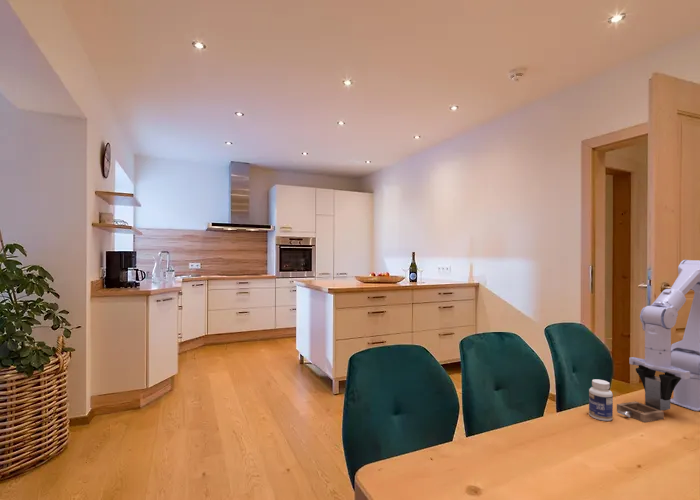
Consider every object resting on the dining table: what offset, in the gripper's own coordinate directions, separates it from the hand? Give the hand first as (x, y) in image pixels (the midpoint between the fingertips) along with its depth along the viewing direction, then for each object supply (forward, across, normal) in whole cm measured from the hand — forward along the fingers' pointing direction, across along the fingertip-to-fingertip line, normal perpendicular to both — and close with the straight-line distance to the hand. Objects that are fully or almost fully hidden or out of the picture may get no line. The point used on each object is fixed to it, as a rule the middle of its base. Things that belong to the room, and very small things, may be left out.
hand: (657, 396), depth 105 cm
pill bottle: (+5, -2, -19) cm, 20 cm away
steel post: (+3, 0, 0) cm, 3 cm away
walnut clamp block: (+4, 0, -8) cm, 9 cm away
